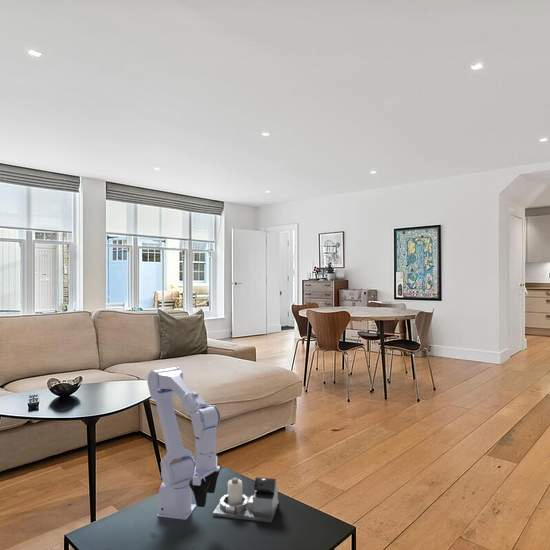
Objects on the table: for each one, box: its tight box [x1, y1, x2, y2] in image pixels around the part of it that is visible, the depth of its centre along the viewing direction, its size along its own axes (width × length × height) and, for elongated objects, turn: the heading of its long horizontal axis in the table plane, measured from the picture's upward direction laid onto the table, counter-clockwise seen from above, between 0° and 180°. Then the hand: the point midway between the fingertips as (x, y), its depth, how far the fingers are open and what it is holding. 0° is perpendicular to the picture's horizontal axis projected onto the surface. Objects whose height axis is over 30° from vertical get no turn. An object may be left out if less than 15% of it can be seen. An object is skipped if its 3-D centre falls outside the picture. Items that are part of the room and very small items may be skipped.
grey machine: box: [212, 476, 280, 523], centre depth 132 cm, size 18×11×10 cm, turn 79°
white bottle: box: [227, 477, 243, 506], centre depth 132 cm, size 4×4×8 cm
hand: (206, 499), depth 120 cm, fingers open, 7 cm apart
